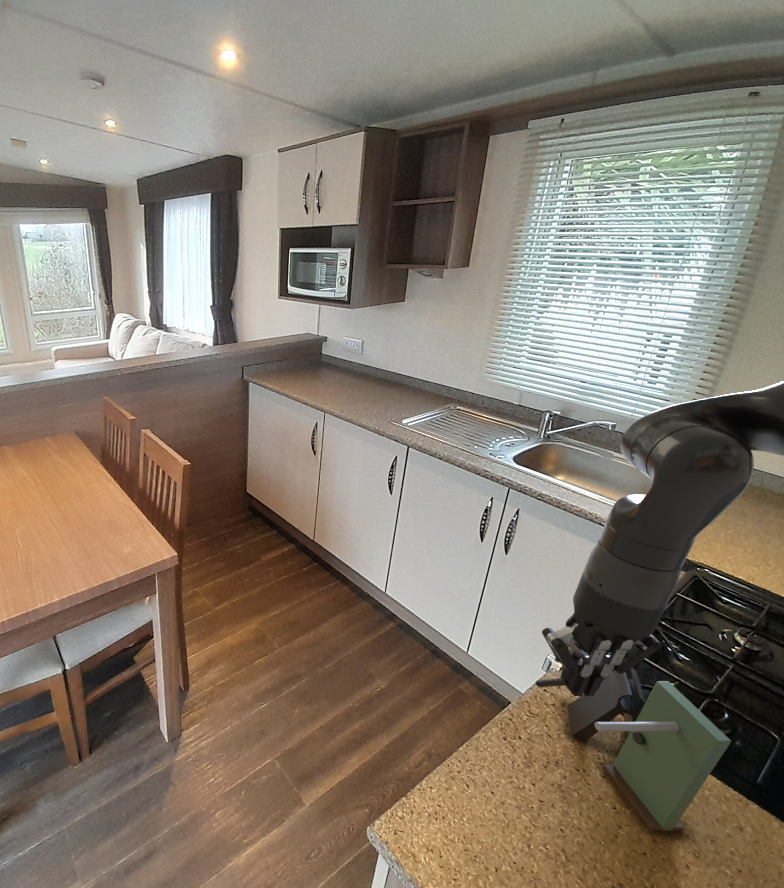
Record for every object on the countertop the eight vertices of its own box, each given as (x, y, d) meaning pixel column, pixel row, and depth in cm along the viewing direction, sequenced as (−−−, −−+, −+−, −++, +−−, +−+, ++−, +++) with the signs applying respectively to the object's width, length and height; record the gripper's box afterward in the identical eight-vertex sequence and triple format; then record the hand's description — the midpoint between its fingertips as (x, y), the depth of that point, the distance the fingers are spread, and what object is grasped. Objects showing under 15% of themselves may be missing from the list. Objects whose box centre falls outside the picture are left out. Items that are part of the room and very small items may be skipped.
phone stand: (569, 738, 73) (594, 682, 68) (566, 707, 78) (589, 653, 73) (646, 768, 69) (679, 711, 64) (638, 734, 73) (668, 679, 68)
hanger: (583, 685, 61) (590, 648, 63) (575, 681, 61) (583, 644, 63) (540, 688, 68) (548, 655, 71) (533, 685, 69) (541, 651, 71)
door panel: (680, 833, 61) (743, 741, 54) (584, 833, 62) (633, 741, 54) (629, 769, 69) (678, 680, 61) (543, 769, 69) (581, 681, 62)
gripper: (590, 607, 51) (544, 717, 58) (717, 606, 51) (656, 717, 58) (543, 563, 58) (507, 666, 65) (655, 562, 58) (607, 666, 65)
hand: (578, 690), depth 61 cm, fingers closed on hanger, 1 cm apart
